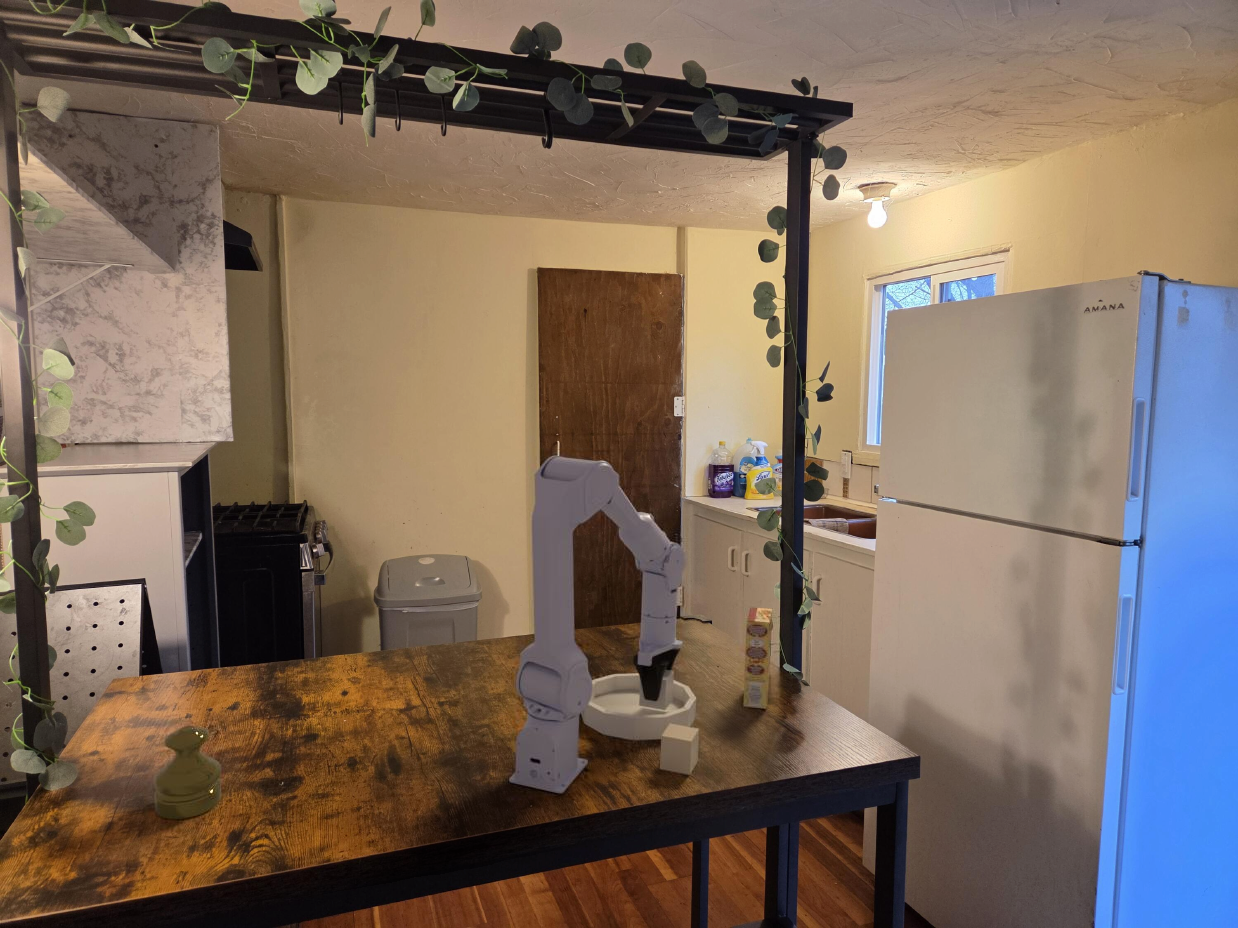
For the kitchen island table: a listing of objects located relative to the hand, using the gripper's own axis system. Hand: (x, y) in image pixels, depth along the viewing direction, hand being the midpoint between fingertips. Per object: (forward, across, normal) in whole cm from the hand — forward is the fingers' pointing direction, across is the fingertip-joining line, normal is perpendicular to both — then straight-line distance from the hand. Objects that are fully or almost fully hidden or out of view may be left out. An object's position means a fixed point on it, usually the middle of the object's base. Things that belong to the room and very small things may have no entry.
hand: (655, 693), depth 128 cm
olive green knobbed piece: (+4, -49, +46) cm, 67 cm away
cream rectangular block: (+4, -14, -8) cm, 17 cm away
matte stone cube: (+2, 0, 0) cm, 2 cm away
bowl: (+4, 0, +3) cm, 5 cm away
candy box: (+4, +15, -14) cm, 21 cm away
